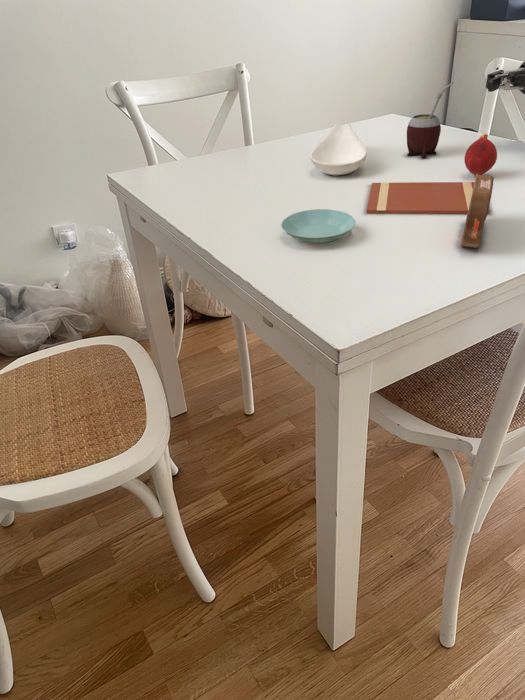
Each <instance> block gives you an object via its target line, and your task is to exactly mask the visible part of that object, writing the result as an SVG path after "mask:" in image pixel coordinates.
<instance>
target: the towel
mask: <svg viewBox="0 0 525 700" xmlns="http://www.w3.org/2000/svg"><path fill="white" fill-rule="evenodd" d="M474 182H475V181H440V182H439V181H436V182H434V181H433V182H432V181H431V182H428V181H426V182H425V181H424V182H423V181H422V182H421V181H419V182H417V181H416V182H413V181H411V182H372V183H371V186H370V191H369V196H368V201H367V206H366V211H365V212H366V214H400V215H401V214H403V215H404V214H405V215H408V214H411V215H412V214H413V215H415V214H416V215H420V214H421V215H422V214H423V215H425V214H427V215H436V214H437V215H467V214H468V210H469V205H470V201H471V196H472V192H473V187H474ZM489 213H490V208H489V209H488V214H487V215H489Z"/></svg>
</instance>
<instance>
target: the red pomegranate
mask: <svg viewBox="0 0 525 700" xmlns="http://www.w3.org/2000/svg"><path fill="white" fill-rule="evenodd" d="M488 137H489V135H488V134H487V133H486V132H485V133H482V134H481V135H480V137H479V138H478V139H477V140H475V141H474V142H473V143H471V144H470V145H469V146H468V148H467V149H466V151H465V153H464V165H465V168H466V170H467V171H468V172H469V173H471V174H472V175H473V176H475V177H476V174H478V175H484V174H486V173H488V172H489V171H490V170H492V168H493V167H494V166H495V164H496V162H497V159H498V150H497V147H496V146H495V144H494V143H493V142H492V141H491V140H490V139H488Z"/></svg>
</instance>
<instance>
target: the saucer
mask: <svg viewBox="0 0 525 700" xmlns="http://www.w3.org/2000/svg"><path fill="white" fill-rule="evenodd" d="M280 225H281V229H282V230H283V231H284V232H285V233H286V234H287V235H289V236H290V237H292V238H294V239H296V240H297V241H300V242H303V243H308V244H326V243H331V242H333V241H336V240H339V239H340V238H343V237H344V236H345V235H346V234H348V233H349V232H350V231H351V230H352V229H353V228H355V225H356V219H355V217H353V215H351V214H349V213H347V212H344V211H341V210H337V209H329V208H328V209H326V208H325V209H324V208H323V209H322V208H318V209H317V208H315V209H307V210H302V211H297V212H294V213H292V214H290V215H288V216H287V217H285V218H283V220H282V221H281V224H280Z"/></svg>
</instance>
